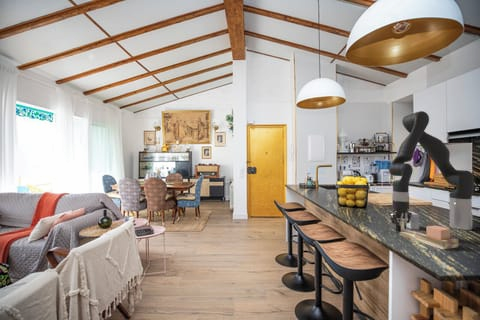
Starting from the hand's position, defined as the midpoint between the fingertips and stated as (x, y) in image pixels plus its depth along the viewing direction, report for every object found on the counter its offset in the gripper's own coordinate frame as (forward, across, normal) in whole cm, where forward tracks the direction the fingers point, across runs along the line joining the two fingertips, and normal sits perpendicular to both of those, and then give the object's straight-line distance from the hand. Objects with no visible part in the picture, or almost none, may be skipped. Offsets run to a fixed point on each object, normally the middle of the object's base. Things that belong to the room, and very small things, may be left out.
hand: (400, 231), depth 123 cm
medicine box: (+1, -14, -5) cm, 15 cm away
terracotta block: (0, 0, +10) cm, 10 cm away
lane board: (+1, 0, +13) cm, 13 cm away
